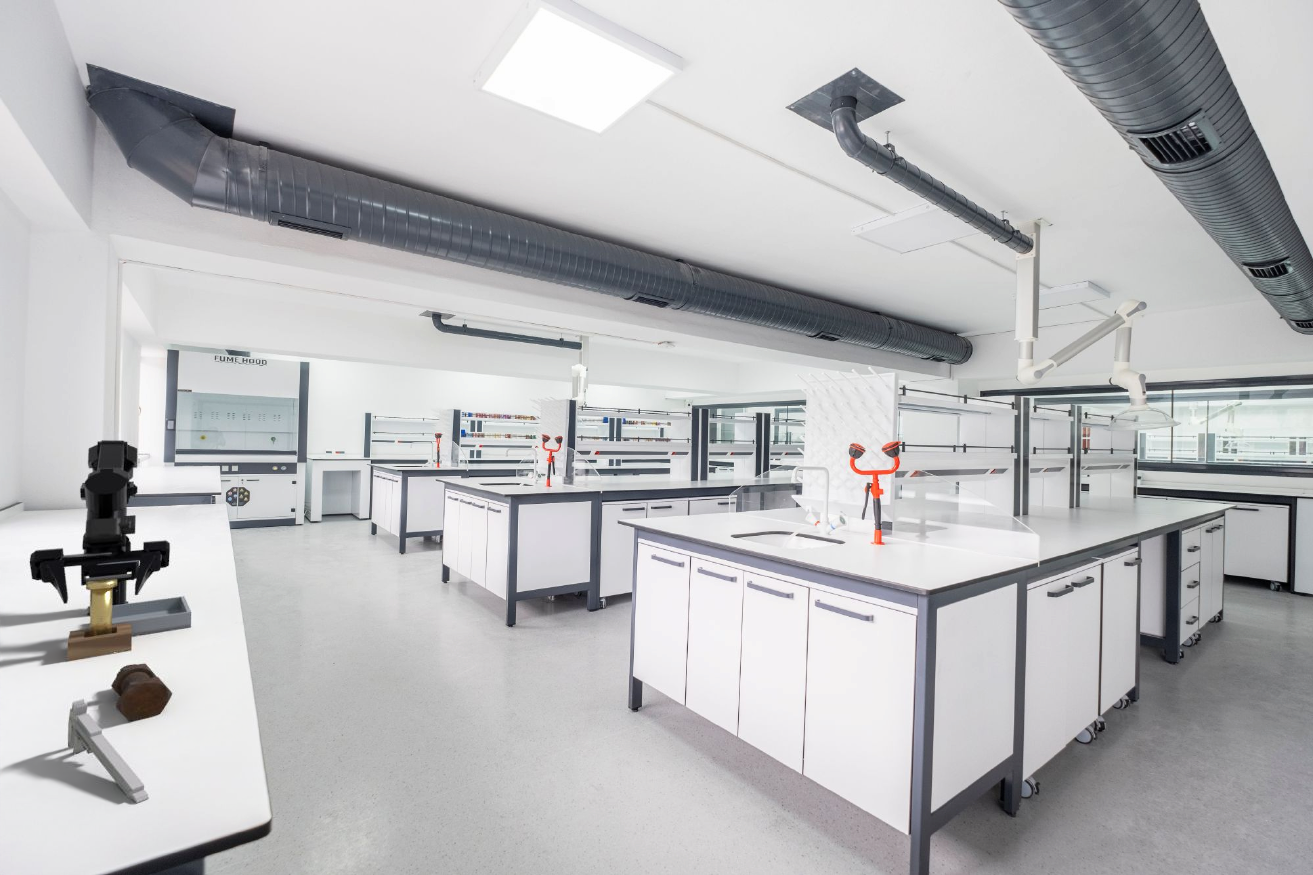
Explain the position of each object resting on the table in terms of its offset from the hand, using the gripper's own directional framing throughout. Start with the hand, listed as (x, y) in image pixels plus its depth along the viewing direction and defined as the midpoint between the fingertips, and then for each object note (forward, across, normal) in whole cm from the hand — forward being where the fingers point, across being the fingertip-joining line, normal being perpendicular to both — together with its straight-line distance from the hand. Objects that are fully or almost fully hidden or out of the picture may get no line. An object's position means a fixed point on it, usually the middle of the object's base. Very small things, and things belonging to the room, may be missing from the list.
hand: (101, 597), depth 105 cm
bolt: (+29, +5, -15) cm, 33 cm away
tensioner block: (+7, 0, +5) cm, 9 cm away
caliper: (+44, +2, -30) cm, 53 cm away
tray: (-2, +6, +14) cm, 16 cm away
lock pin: (+7, 0, +5) cm, 9 cm away
